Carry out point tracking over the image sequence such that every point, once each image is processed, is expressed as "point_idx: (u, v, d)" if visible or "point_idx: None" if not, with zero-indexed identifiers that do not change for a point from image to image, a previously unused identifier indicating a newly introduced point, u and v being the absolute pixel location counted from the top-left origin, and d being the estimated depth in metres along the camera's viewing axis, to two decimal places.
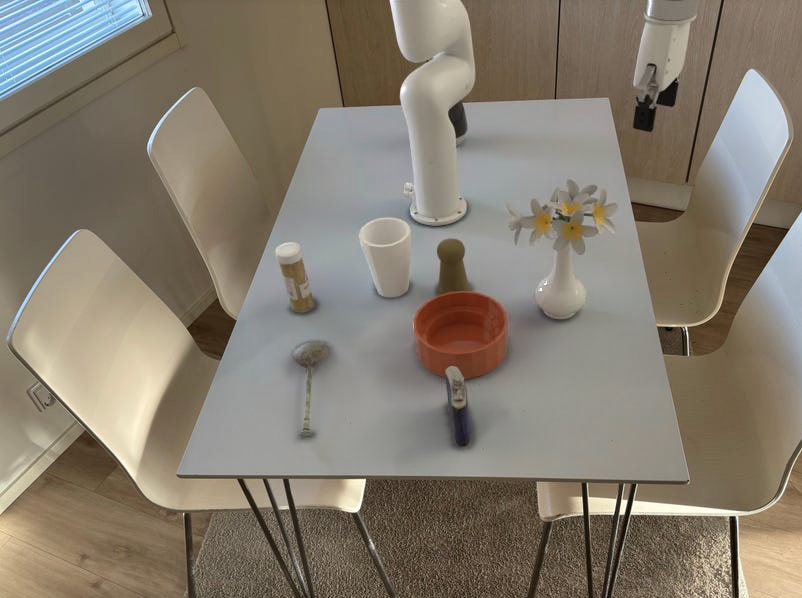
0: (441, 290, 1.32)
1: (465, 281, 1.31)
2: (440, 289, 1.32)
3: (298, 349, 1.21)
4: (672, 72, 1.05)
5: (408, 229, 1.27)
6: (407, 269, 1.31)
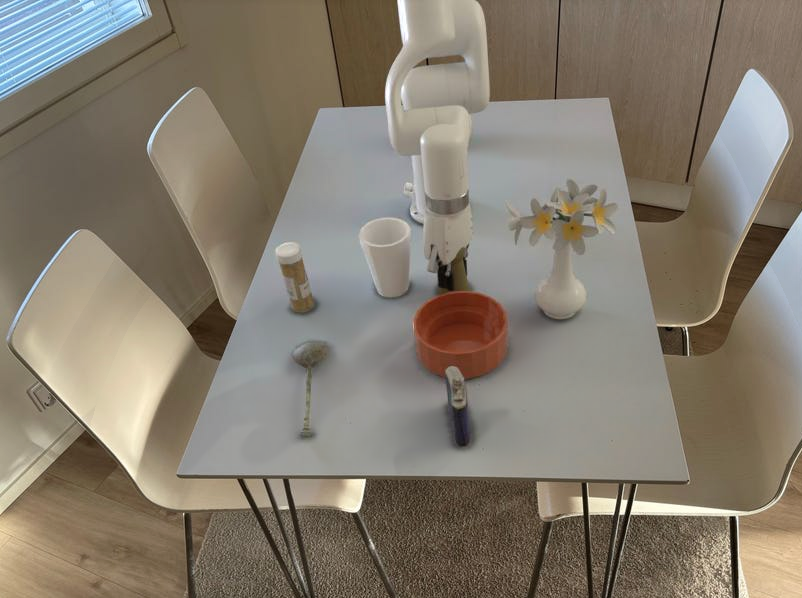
0: (441, 290, 1.32)
1: (465, 281, 1.31)
2: (440, 289, 1.32)
3: (298, 349, 1.21)
4: (455, 248, 1.24)
5: (408, 229, 1.27)
6: (407, 269, 1.31)
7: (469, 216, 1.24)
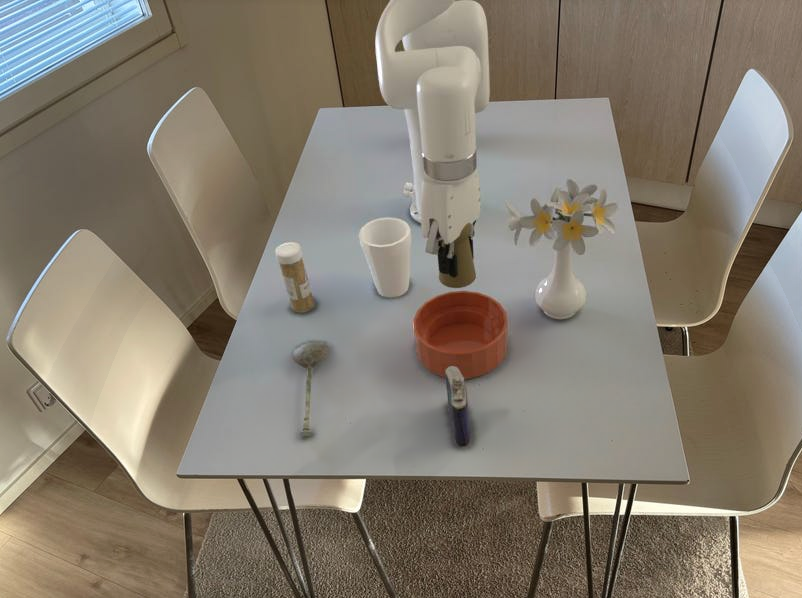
0: (442, 276, 1.10)
1: (471, 266, 1.09)
2: (441, 275, 1.10)
3: (298, 349, 1.21)
4: (460, 224, 1.01)
5: (408, 229, 1.27)
6: (407, 269, 1.31)
7: (476, 185, 1.02)
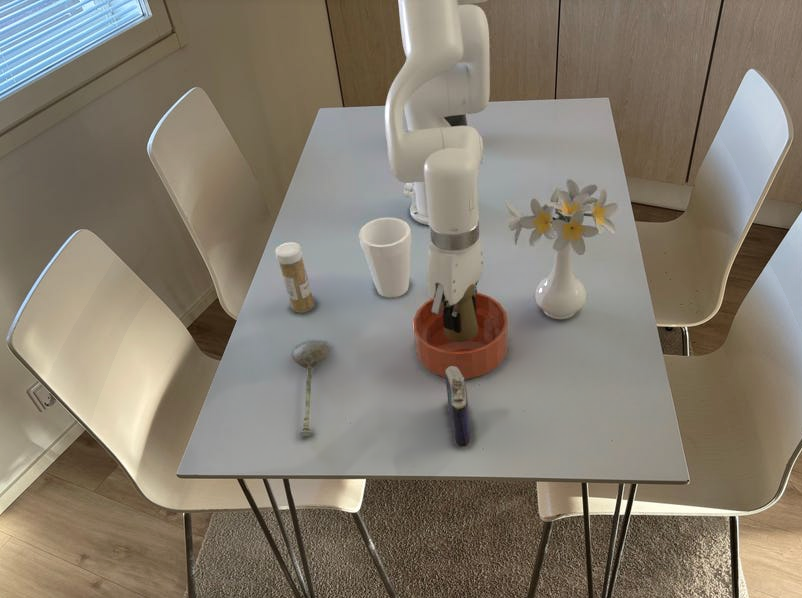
0: (447, 331, 1.17)
1: (474, 322, 1.16)
2: (446, 330, 1.18)
3: (298, 349, 1.21)
4: (463, 287, 1.09)
5: (408, 229, 1.27)
6: (407, 269, 1.31)
7: (479, 250, 1.09)
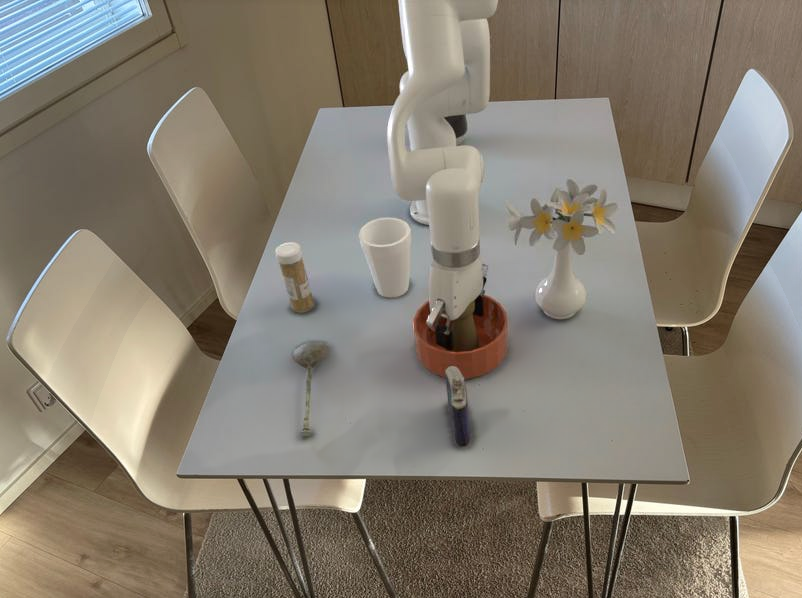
0: None
1: (474, 337, 1.19)
2: None
3: (298, 349, 1.21)
4: (464, 302, 1.11)
5: (408, 229, 1.27)
6: (407, 269, 1.31)
7: (479, 266, 1.12)
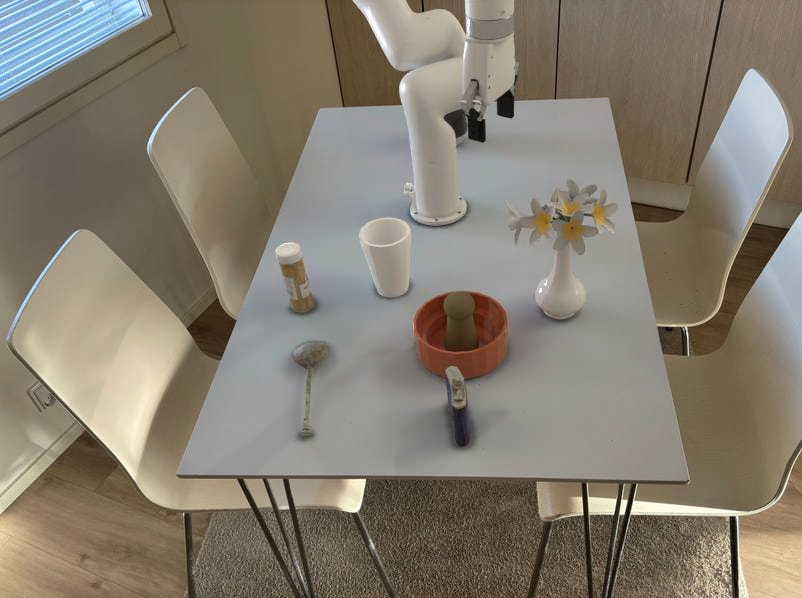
0: (448, 346, 1.20)
1: (474, 337, 1.19)
2: (447, 345, 1.20)
3: (298, 349, 1.21)
4: (497, 87, 1.12)
5: (408, 229, 1.27)
6: (407, 269, 1.31)
7: (512, 51, 1.13)
